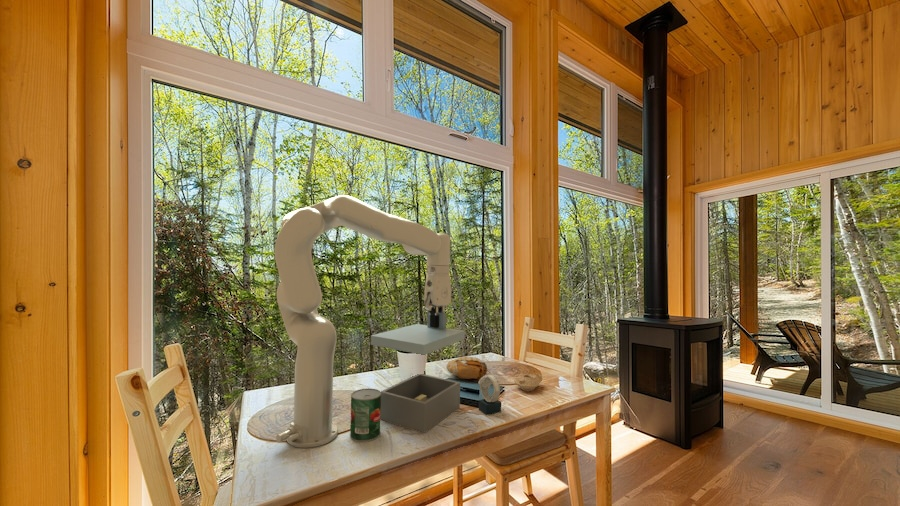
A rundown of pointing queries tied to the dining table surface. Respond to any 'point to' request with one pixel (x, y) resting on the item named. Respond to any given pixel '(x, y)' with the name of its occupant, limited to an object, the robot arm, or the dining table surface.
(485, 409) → the stone ring on base
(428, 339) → the lid
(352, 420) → the canned tomato
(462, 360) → the bread loaf
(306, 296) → the robot arm
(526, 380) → the pottery oil lamp
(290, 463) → the dining table surface
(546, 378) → the dining table surface
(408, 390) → the tub
